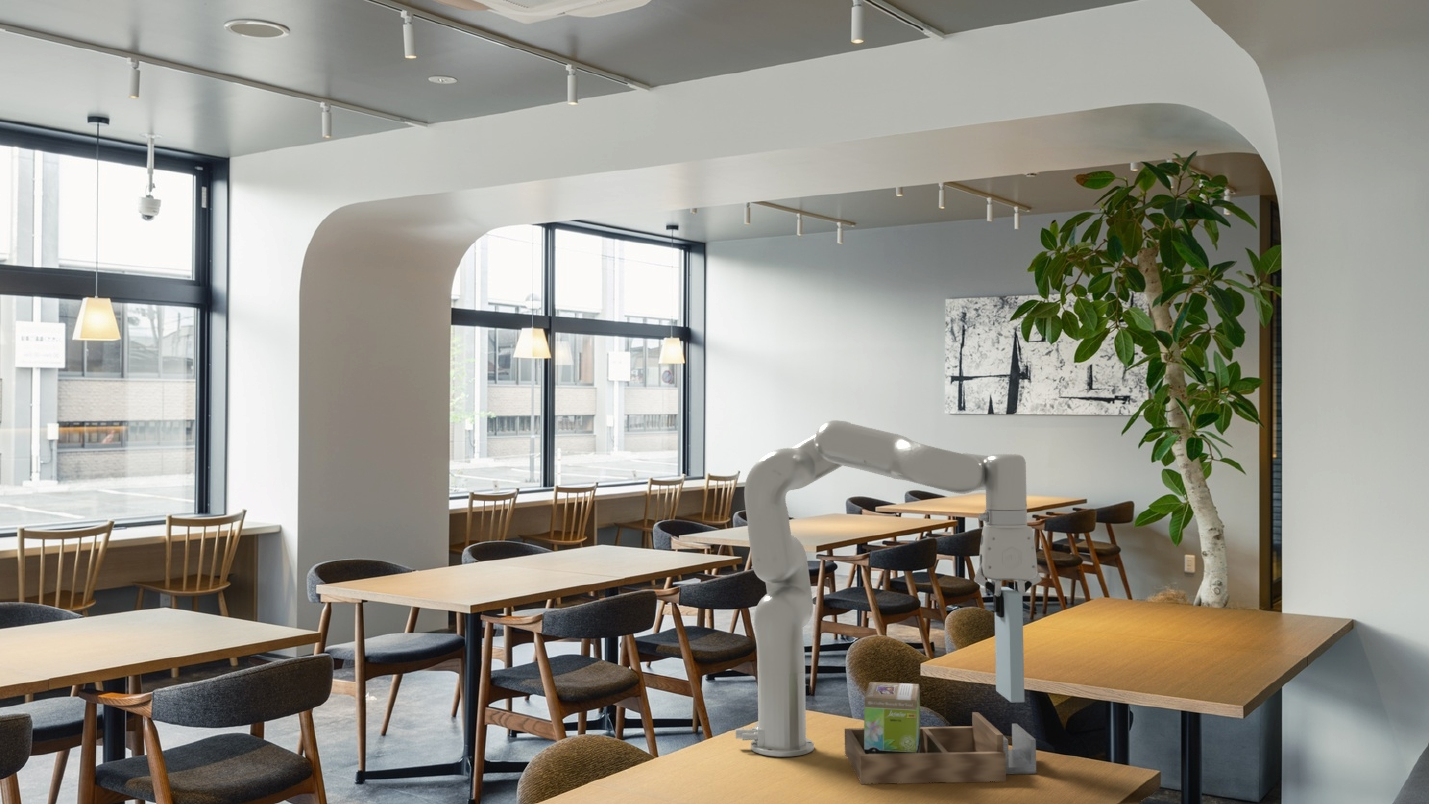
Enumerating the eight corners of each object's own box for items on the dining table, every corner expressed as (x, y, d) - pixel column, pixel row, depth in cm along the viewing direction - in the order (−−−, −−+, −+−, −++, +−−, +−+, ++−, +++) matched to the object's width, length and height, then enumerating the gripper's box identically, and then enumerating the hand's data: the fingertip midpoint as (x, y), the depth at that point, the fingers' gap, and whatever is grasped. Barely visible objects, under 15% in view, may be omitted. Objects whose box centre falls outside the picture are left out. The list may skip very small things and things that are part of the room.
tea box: (918, 781, 209) (917, 698, 209) (863, 778, 211) (861, 696, 211) (921, 758, 223) (919, 681, 224) (868, 756, 225) (867, 679, 226)
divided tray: (861, 784, 207) (860, 739, 207) (844, 754, 227) (844, 713, 227) (1006, 781, 208) (1005, 736, 208) (977, 751, 228) (976, 710, 228)
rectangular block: (1011, 702, 214) (1008, 593, 214) (996, 690, 224) (994, 587, 224) (1024, 702, 214) (1022, 593, 214) (1008, 690, 224) (1006, 586, 224)
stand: (1004, 774, 212) (1003, 740, 212) (986, 756, 224) (985, 724, 224) (1036, 773, 212) (1035, 739, 213) (1017, 755, 224) (1016, 723, 225)
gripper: (969, 521, 216) (971, 620, 215) (1054, 520, 216) (1056, 618, 216) (959, 518, 223) (961, 614, 223) (1042, 517, 224) (1044, 612, 223)
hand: (1008, 615), depth 219 cm, fingers closed on rectangular block, 2 cm apart
